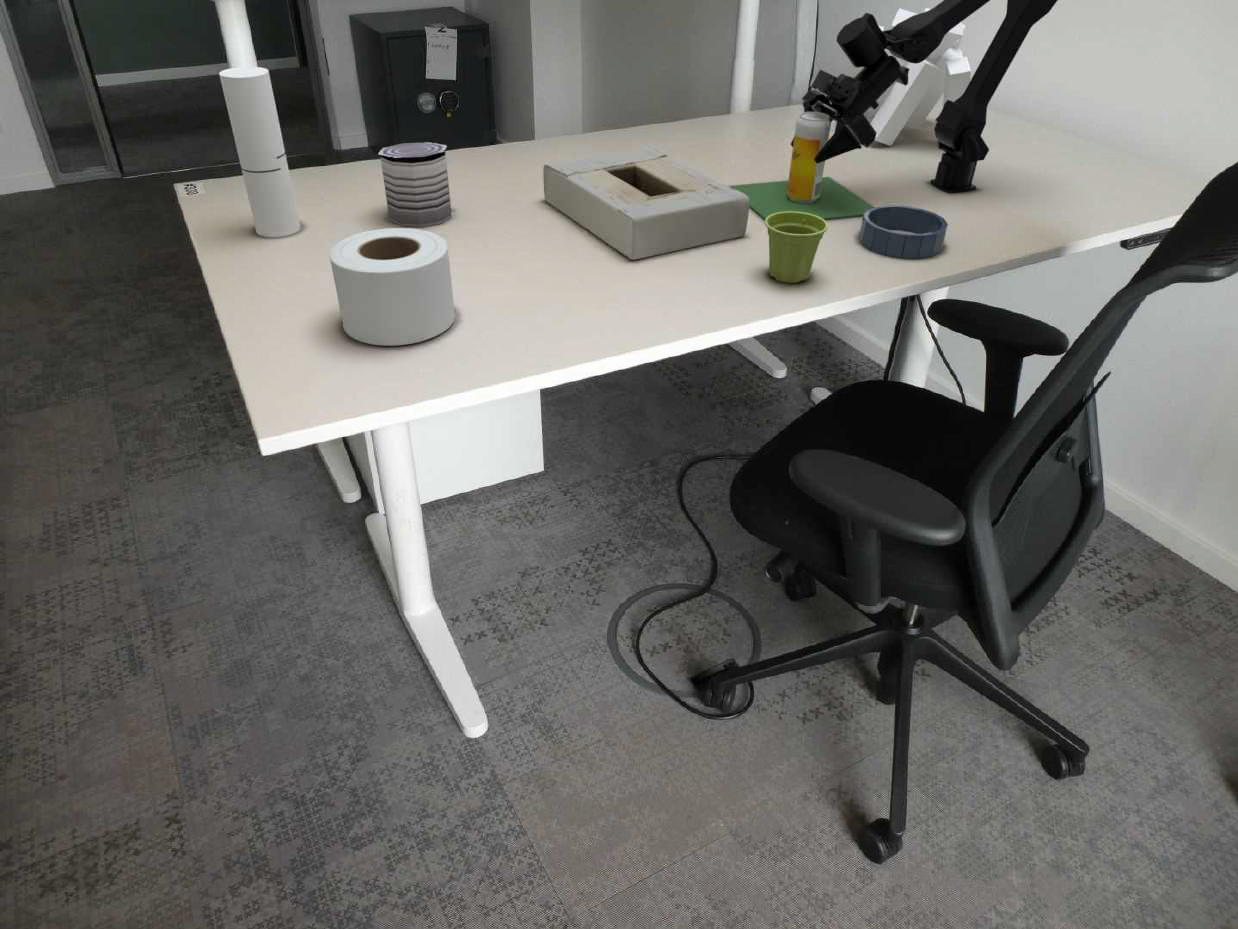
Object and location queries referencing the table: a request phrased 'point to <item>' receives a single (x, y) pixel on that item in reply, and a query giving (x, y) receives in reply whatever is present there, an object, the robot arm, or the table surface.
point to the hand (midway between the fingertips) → (803, 153)
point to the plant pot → (793, 244)
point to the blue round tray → (903, 243)
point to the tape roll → (393, 285)
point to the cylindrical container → (260, 150)
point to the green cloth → (826, 206)
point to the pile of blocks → (920, 84)
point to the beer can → (808, 157)
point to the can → (416, 184)
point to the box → (645, 202)
